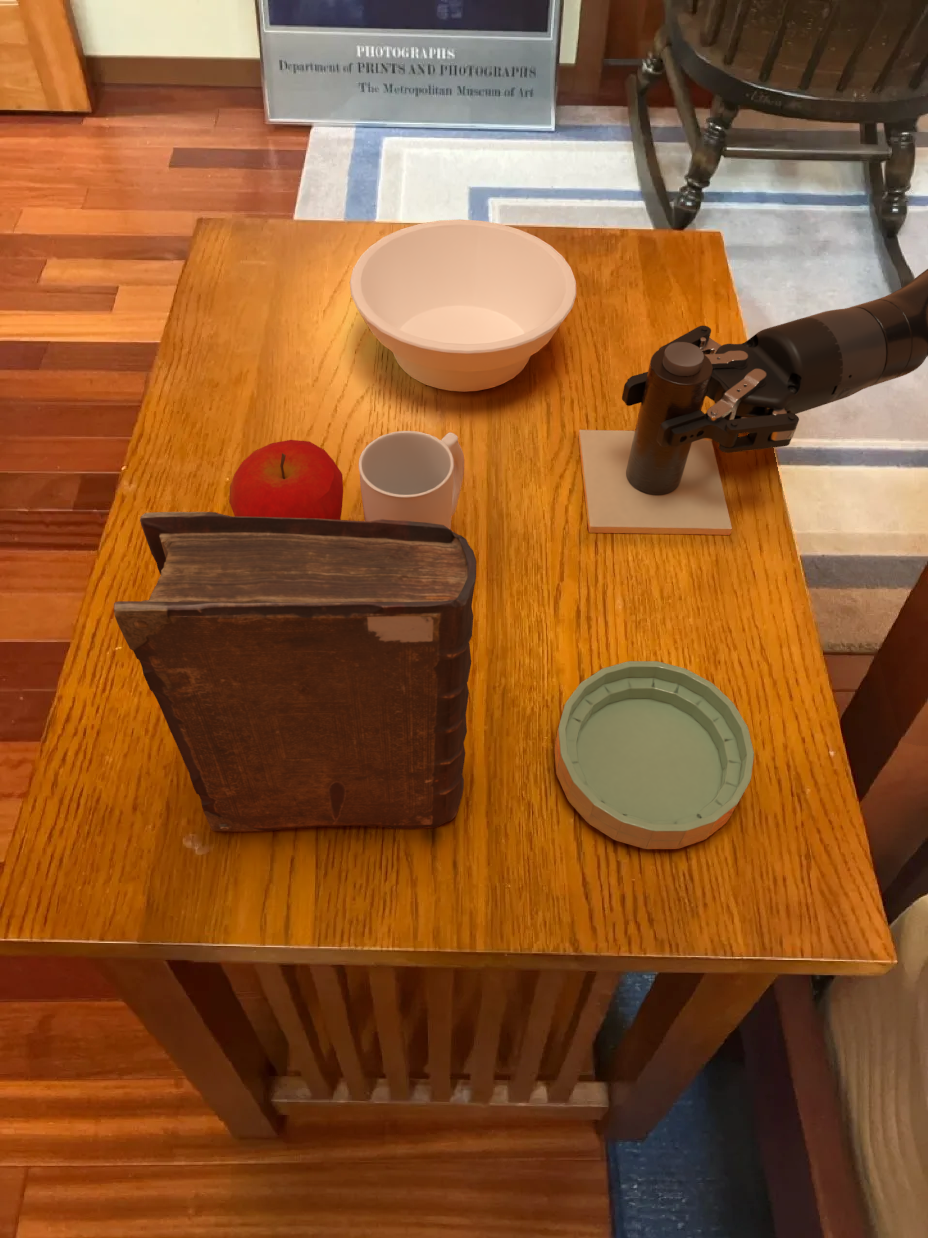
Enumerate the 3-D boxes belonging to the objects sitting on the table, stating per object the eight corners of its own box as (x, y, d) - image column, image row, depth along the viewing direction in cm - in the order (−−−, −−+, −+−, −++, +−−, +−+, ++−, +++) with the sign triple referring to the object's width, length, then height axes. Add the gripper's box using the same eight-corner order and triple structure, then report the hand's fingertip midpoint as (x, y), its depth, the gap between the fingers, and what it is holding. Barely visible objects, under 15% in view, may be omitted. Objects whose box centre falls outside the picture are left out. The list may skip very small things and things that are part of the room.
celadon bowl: (769, 746, 66) (784, 721, 64) (687, 891, 60) (699, 870, 57) (611, 658, 71) (618, 631, 68) (518, 784, 64) (522, 760, 61)
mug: (415, 618, 73) (411, 511, 63) (351, 576, 75) (338, 467, 65) (492, 543, 78) (500, 433, 68) (430, 506, 80) (429, 395, 70)
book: (467, 765, 65) (481, 521, 45) (458, 862, 61) (468, 639, 41) (232, 743, 66) (142, 492, 46) (206, 837, 61) (95, 606, 41)
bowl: (333, 408, 87) (324, 334, 81) (380, 280, 100) (376, 207, 93) (556, 436, 86) (566, 363, 79) (575, 303, 98) (585, 230, 92)
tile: (707, 438, 86) (709, 431, 85) (730, 535, 79) (732, 528, 78) (578, 435, 86) (579, 429, 85) (588, 532, 78) (589, 526, 78)
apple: (297, 507, 79) (277, 398, 70) (373, 552, 77) (364, 444, 67) (225, 569, 75) (195, 462, 66) (304, 618, 72) (283, 514, 63)
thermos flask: (690, 471, 82) (726, 349, 72) (664, 503, 80) (698, 382, 69) (642, 449, 84) (671, 326, 73) (615, 480, 81) (641, 357, 71)
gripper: (776, 277, 80) (604, 324, 75) (886, 375, 72) (703, 435, 68) (752, 349, 86) (592, 397, 81) (852, 447, 78) (681, 506, 74)
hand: (643, 414), depth 75 cm, fingers closed on thermos flask, 4 cm apart
